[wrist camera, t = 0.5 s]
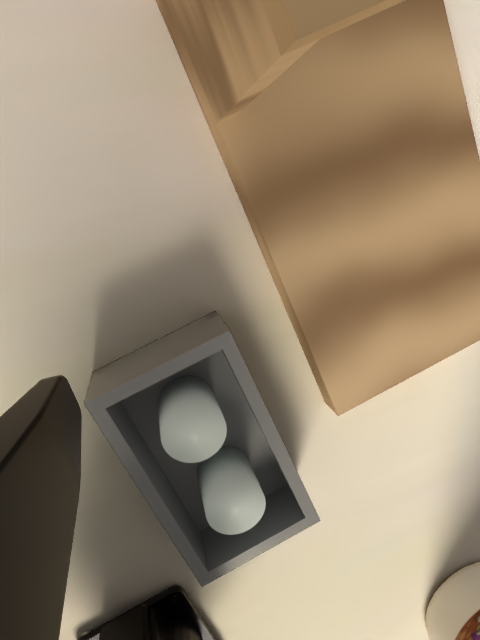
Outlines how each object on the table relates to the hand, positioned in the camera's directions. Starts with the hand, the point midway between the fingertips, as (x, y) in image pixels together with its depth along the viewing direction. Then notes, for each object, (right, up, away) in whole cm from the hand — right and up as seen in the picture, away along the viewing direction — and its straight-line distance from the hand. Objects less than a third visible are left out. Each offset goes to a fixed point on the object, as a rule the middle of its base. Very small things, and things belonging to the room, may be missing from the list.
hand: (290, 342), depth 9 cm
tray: (-3, -5, +14) cm, 15 cm away
